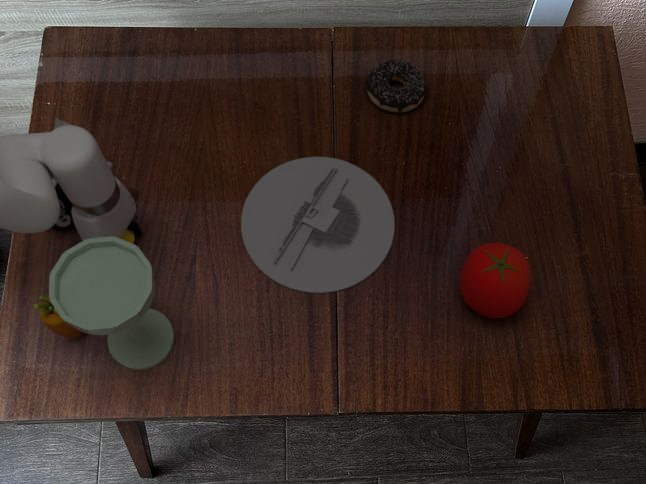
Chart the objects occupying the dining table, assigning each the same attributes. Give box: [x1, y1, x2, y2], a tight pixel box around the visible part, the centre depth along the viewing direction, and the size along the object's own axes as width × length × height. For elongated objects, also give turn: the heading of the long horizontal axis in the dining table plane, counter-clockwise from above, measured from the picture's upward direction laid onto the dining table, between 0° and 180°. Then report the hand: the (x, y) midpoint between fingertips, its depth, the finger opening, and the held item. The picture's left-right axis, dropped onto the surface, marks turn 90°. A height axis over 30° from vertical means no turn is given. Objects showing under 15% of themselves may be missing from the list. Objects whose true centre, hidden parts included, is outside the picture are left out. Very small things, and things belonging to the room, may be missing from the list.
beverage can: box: [50, 179, 76, 232], centre depth 120 cm, size 7×7×12 cm
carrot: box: [33, 295, 81, 339], centre depth 111 cm, size 5×5×15 cm
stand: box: [107, 308, 175, 371], centre depth 108 cm, size 11×11×21 cm
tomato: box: [459, 242, 532, 319], centre depth 117 cm, size 13×11×14 cm
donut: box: [364, 58, 428, 114], centre depth 135 cm, size 11×12×4 cm
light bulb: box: [120, 228, 136, 245], centre depth 122 cm, size 3×6×4 cm, turn 173°
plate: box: [240, 156, 396, 294], centre depth 126 cm, size 28×28×1 cm
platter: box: [48, 236, 157, 336], centre depth 97 cm, size 14×14×2 cm
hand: (125, 246), depth 123 cm, fingers closed on light bulb, 5 cm apart
